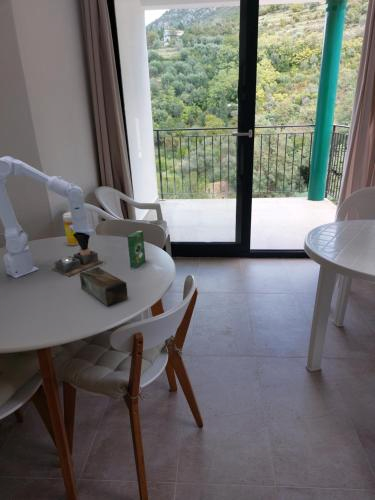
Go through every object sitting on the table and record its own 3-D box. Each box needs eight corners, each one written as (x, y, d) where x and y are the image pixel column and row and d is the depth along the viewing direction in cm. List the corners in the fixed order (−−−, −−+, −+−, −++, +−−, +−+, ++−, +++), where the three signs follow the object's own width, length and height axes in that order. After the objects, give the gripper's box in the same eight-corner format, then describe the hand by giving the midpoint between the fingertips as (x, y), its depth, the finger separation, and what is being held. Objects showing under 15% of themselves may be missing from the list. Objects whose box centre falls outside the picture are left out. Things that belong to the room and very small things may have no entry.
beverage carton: (101, 280, 124) (98, 264, 122) (129, 299, 111) (127, 281, 108) (80, 288, 120) (77, 271, 117) (107, 308, 106) (105, 289, 104)
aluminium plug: (66, 270, 131) (65, 261, 130) (61, 267, 134) (59, 259, 132) (75, 266, 134) (74, 258, 133) (69, 264, 136) (68, 256, 135)
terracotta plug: (84, 259, 137) (83, 251, 136) (78, 257, 139) (77, 249, 138) (92, 256, 140) (91, 248, 138) (87, 254, 142) (85, 246, 141)
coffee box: (140, 259, 140) (137, 229, 136) (146, 260, 139) (143, 230, 135) (130, 267, 134) (126, 236, 129) (136, 268, 133) (132, 236, 128)
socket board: (69, 277, 128) (67, 267, 127) (52, 269, 135) (50, 260, 134) (103, 262, 139) (101, 253, 138) (85, 256, 147) (84, 247, 145)
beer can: (78, 245, 160) (73, 215, 154) (66, 246, 160) (60, 215, 154) (82, 241, 165) (77, 211, 160) (70, 241, 165) (65, 212, 160)
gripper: (98, 217, 132) (103, 249, 137) (77, 212, 140) (82, 243, 145) (83, 222, 127) (89, 255, 132) (61, 216, 135) (67, 248, 140)
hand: (84, 249), depth 138 cm, fingers closed, pressing on terracotta plug
